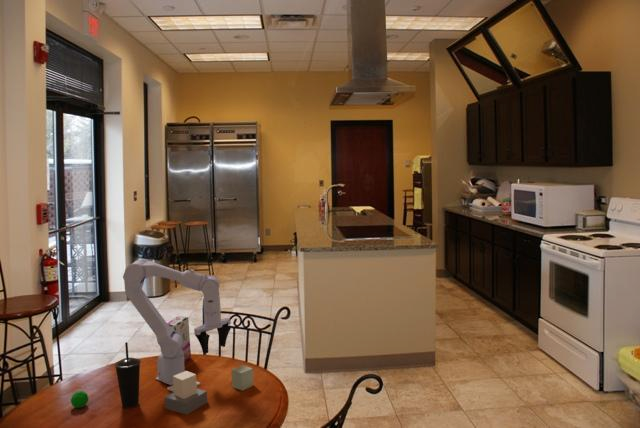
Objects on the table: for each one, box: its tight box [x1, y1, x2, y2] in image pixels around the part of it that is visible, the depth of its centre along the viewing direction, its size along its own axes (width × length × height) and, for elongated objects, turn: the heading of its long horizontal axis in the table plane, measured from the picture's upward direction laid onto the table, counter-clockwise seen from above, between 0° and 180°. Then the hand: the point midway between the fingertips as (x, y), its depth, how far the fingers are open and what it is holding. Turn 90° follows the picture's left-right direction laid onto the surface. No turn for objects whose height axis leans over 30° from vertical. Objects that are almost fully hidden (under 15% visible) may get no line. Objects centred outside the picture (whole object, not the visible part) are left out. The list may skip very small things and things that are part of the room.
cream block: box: [172, 370, 198, 399], centre depth 160 cm, size 5×5×6 cm
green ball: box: [70, 390, 89, 409], centre depth 161 cm, size 5×5×5 cm
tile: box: [166, 381, 201, 393], centre depth 174 cm, size 6×9×1 cm, turn 141°
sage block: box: [231, 364, 254, 391], centre depth 173 cm, size 5×5×6 cm
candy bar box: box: [166, 315, 192, 364], centre depth 196 cm, size 11×5×16 cm, turn 169°
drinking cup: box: [114, 341, 142, 409], centre depth 161 cm, size 8×8×20 cm
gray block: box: [164, 388, 208, 415], centre depth 160 cm, size 9×9×4 cm
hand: (214, 349), depth 181 cm, fingers open, 7 cm apart
